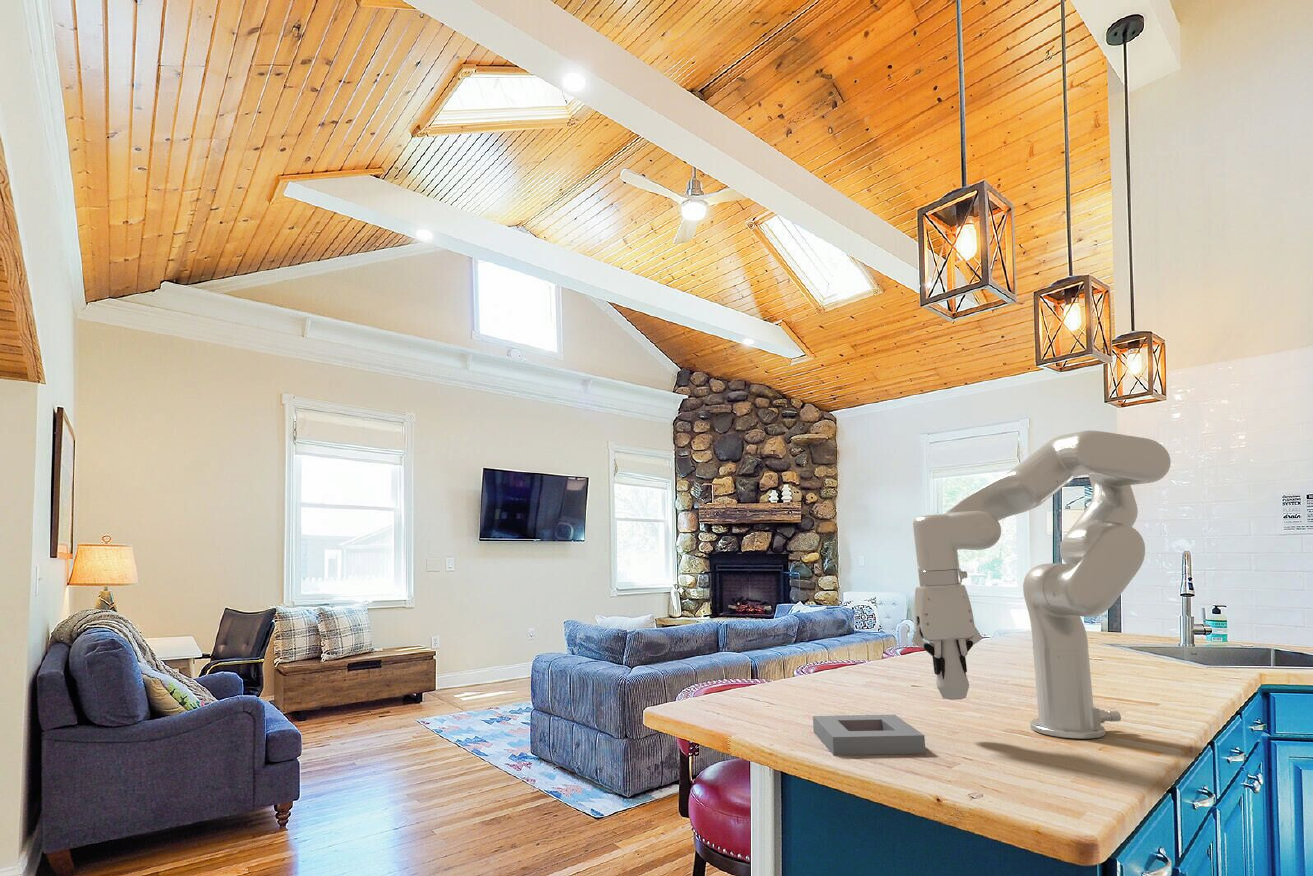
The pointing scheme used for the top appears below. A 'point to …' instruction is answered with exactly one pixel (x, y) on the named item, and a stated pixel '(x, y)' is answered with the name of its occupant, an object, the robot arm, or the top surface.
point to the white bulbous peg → (952, 672)
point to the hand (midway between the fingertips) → (951, 676)
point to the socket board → (868, 735)
